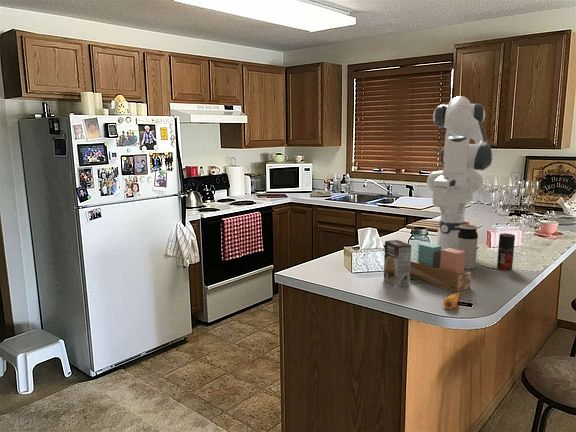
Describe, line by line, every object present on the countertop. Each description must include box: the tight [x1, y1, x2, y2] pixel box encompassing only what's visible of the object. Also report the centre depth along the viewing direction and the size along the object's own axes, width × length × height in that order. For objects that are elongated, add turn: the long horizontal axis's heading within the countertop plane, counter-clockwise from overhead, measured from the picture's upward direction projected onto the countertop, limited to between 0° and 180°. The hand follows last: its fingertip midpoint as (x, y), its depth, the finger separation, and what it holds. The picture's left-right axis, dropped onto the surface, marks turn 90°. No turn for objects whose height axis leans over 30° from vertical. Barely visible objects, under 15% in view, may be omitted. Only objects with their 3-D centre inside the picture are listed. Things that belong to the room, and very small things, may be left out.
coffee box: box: [383, 239, 412, 287], centre depth 183 cm, size 9×6×16 cm
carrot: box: [443, 291, 461, 310], centre depth 165 cm, size 20×4×4 cm, turn 150°
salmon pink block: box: [440, 248, 465, 275], centre depth 179 cm, size 5×8×12 cm, turn 36°
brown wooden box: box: [409, 260, 472, 294], centre depth 183 cm, size 9×22×7 cm, turn 36°
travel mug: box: [457, 224, 479, 270], centre depth 202 cm, size 8×8×18 cm
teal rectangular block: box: [417, 242, 441, 268], centre depth 187 cm, size 5×8×12 cm, turn 36°
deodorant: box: [496, 232, 516, 272], centre depth 199 cm, size 6×6×15 cm
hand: (452, 215), depth 178 cm, fingers open, 8 cm apart
